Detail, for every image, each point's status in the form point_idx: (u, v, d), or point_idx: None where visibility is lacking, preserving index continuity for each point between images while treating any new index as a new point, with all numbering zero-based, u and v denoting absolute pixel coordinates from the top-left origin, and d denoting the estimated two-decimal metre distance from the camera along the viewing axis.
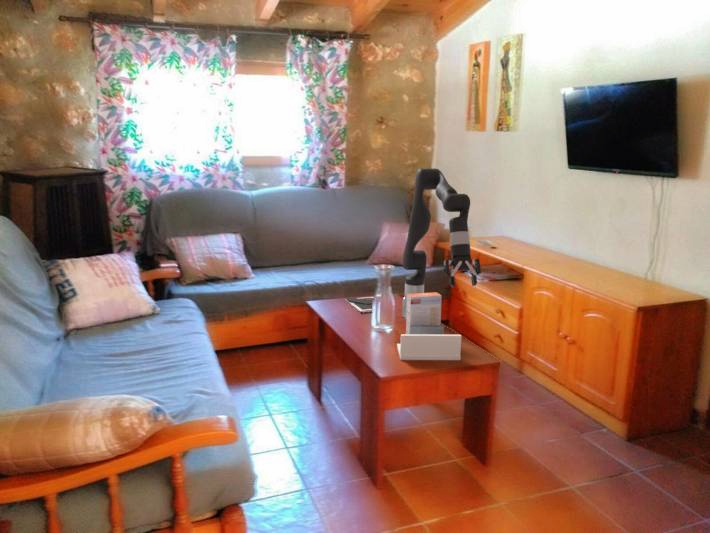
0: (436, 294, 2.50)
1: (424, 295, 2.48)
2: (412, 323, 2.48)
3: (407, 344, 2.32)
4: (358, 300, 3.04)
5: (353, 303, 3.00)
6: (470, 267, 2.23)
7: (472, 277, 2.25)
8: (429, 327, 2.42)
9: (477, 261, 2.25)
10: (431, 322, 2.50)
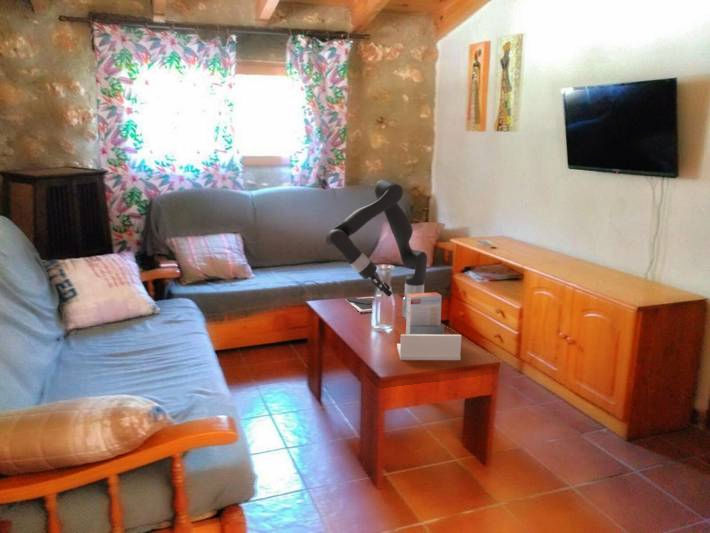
0: (436, 294, 2.50)
1: (424, 295, 2.48)
2: (412, 323, 2.48)
3: (407, 344, 2.32)
4: (358, 300, 3.04)
5: (353, 303, 3.00)
6: None
7: None
8: (429, 327, 2.42)
9: None
10: (431, 322, 2.50)
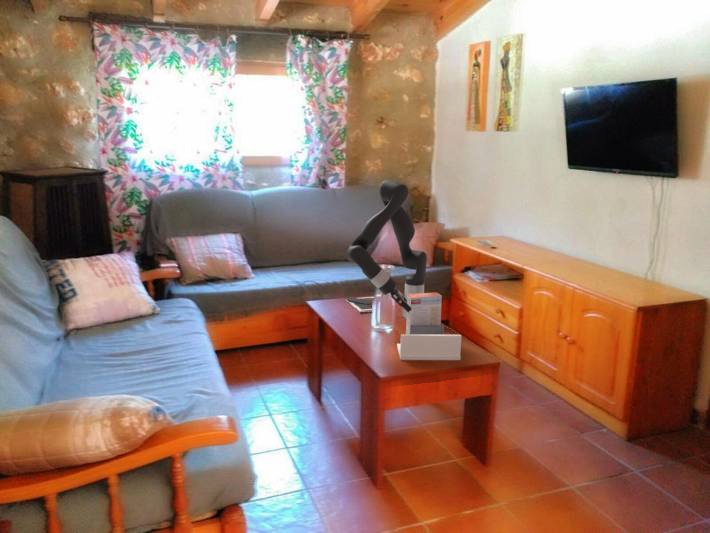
0: (436, 294, 2.49)
1: (425, 295, 2.48)
2: (412, 323, 2.48)
3: (407, 344, 2.32)
4: (358, 300, 3.04)
5: (353, 303, 3.00)
6: None
7: None
8: (429, 327, 2.42)
9: (393, 298, 2.43)
10: (431, 323, 2.50)
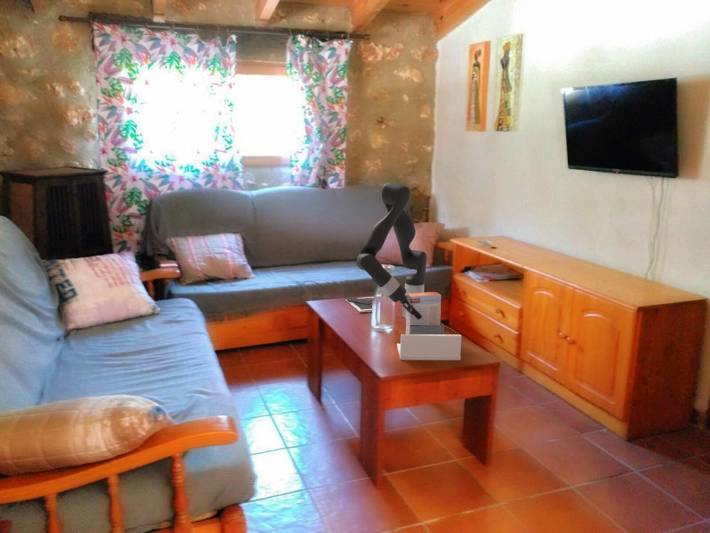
0: (436, 293, 2.50)
1: (424, 294, 2.48)
2: (412, 322, 2.49)
3: (407, 344, 2.32)
4: (358, 300, 3.04)
5: (353, 303, 3.00)
6: None
7: None
8: (429, 327, 2.42)
9: (404, 306, 2.44)
10: (431, 322, 2.50)
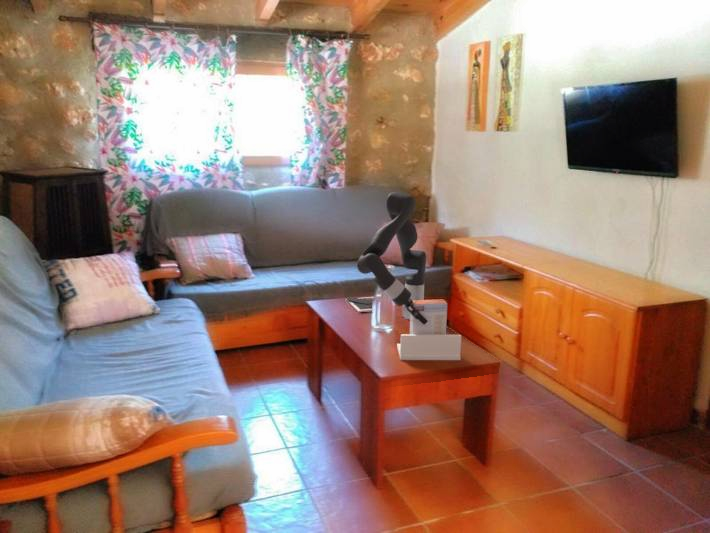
0: (441, 301, 2.34)
1: (429, 302, 2.33)
2: (415, 331, 2.34)
3: (407, 344, 2.32)
4: (358, 300, 3.04)
5: (352, 303, 3.00)
6: None
7: None
8: None
9: (408, 310, 2.29)
10: (436, 331, 2.35)
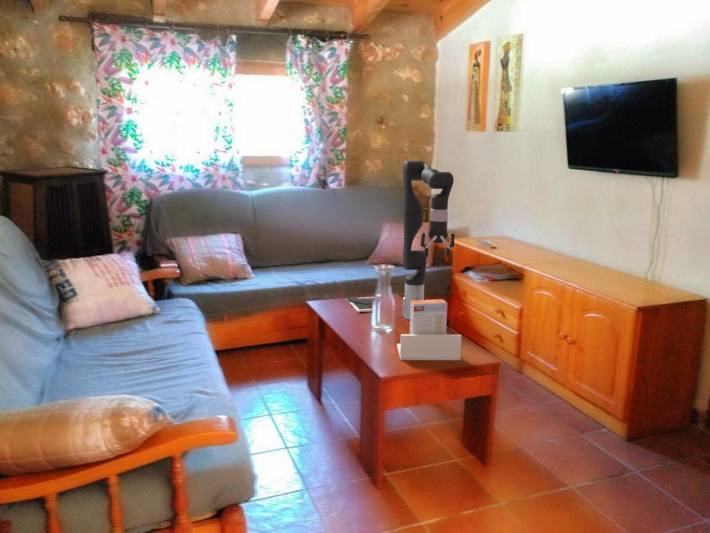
0: (442, 301, 2.34)
1: (429, 302, 2.33)
2: (415, 331, 2.34)
3: (407, 344, 2.32)
4: (358, 300, 3.04)
5: (352, 303, 3.01)
6: (444, 241, 2.49)
7: (446, 249, 2.51)
8: None
9: (452, 236, 2.49)
10: (436, 331, 2.35)
